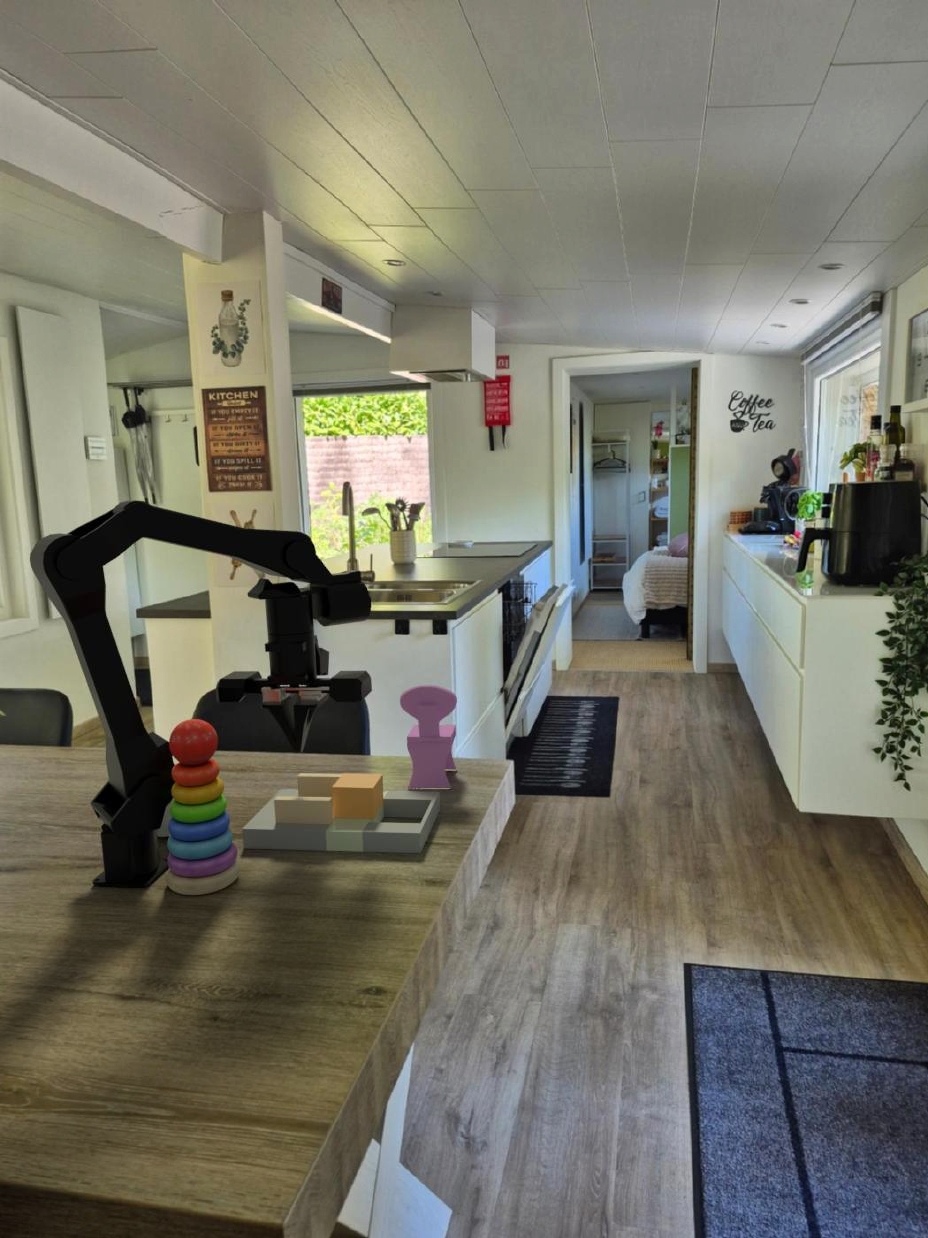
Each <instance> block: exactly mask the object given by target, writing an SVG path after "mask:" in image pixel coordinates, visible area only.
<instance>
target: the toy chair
mask: <svg viewBox="0 0 928 1238" xmlns="http://www.w3.org/2000/svg"><path fill="white" fill-rule="evenodd" d="M457 703H458V697H457V695H456V693H454V692H453V691H451V690H449V689H448V688H446V687H441V686H439V685H435V684H434V685H432V684H431V685H430V684H427V685H425V684H422V685H415V686H412V687H411V688H408V689H406V690H404V691H403V692H402V693H401V695H400V697H399V704H400V707H401V708H402V711H404V712H405V713H407V714H408V715H410V716H411V717H412V718H414V719H415V720H417V721H418V724H413V726H412V728H411V730H410V732H409V733H408V734H407V736H406V743H407V744H406V747H407V751H408V755H409V757H410V759H411V762H412V774H411V778H410V782H409V784H408V786H407V790H408V789H409V788H410V789H413V788H414V789H416V788H418V789H420V788H450V787H451V784H450V783H449V780H448V777H447V772H445V769H456V768H457V766H456V764H455V761H454V757H453V750H452V749H453V744H454V741H455V738H456V735H457V727H456V726H457V725H456V724H441V725H440V722H441V721H442V720H444V719H445V718H446V717H448V716H450V714H451V713H452V712H454V710H455V709H456V707H457Z"/></svg>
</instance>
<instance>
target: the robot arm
mask: <svg viewBox="0 0 928 1238" xmlns="http://www.w3.org/2000/svg"><path fill="white" fill-rule="evenodd" d="M142 539H147V540H152V541H157V542H161V543H165V544H168V545H174V546H179V547H183V548H188V549H192V550H197V551H200V552H201V551H202V552H206V553H211V554H215V555H218V556H219V555H220V556H225V557H228V558H231V559H233V560H236V561H237V562H239V563H240V564H243V565H245V566H247V567H249V568H252V569H255V570H256V571H259V572H260V573H261V572H262V573H264V574H267V575H268V576H273V577H280V578H286V579H288V580H291V581H286V582H284V581H283V582H277V583H273V582H272V581H271V580H270V579H268V578H262V577H260V578H259V579H258V581H257V582H256V584H255V585H254V586H253V587H252V588H251V589H250V590H249V591H248V592H247V594H246V595H247V597H248V598H249V599H250V598H251V599H255V600H261V601H263V600H264V602H265V603H264V604H265V617H266V631H267V642H265V643H264V650H265V652H267V653H268V658H269V673H270V674H269V675H267V677H266V678H263V676H262V674H261V672H259V670H256V671H255V670H248V671H245V670H242V671H241V670H240V671H239V670H238V671H237V670H234V671H232V672H230V673H229V674H227V675H225V676H223V677H222V678H220V679H218V681H217V683H216V686H215V696H216V697H215V699H216V702H219V703H239V702H241V701H242V700H243V699H244V697H246V695H247V694H262V702H261V703H260V707H261V709H263V710H264V709H266V710H268V712H269V713H270V714H271V715H272V717H273V718H274V720H275V721H276V723H277V724H278V725H279V727H280V728H281V731H282V733H283V734H284V736H285V737H286V739H287V741H288V744H289V746H290V747H291V749H292V751H293V752H294V753H295V754H301V753H302V752H303V751H304V748H305V745H306V741H307V738H308V734H309V731H310V726H311V723H312V720H313V717H314V716H315V715H314V714H315V712H316V710H317V709H318V708H319V707H320V706H321V705H323V704H324V703H325V702H326V701H327V700H328V699H329V697H330V698H331V699H333V701H334V702H336V703H357V702H358V703H359V702H363V701H364V699H366V698H367V697H368V696H369V695H370V693H371V692H372V691H373V688H372V687H373V686H372V682H373V681H372V676H371V674H370V673H368V671H367V670H340V671H338V672H337V673H336V674H334V675H333V676H332V677H331V678H330V677H324V676H329V665H330V651H328V650H326V649H324V648H323V647H320V645H319V639H318V634H317V635H316V634H315V627H314V626H315V625H314V624H315V623H314V620H315V621H317V622H318V624H319V625H321V626H322V627H324V628H326V627H331V626H339V625H345V624H352V623H359V622H361V623H362V622H365V621H366V620H367V619H369V617H370V614H371V612H372V611H371V610H372V597H371V595H370V593H369V590H368V587H367V585H366V584H365V582H363V580H362V572H361V571H360V570H353V569H350V570H349V569H348V570H344V571H342V572H336V573H332V572H331V571H330V570H329V569H328V568H327V566H326V565H325V564H324V562H322V560H321V558H320V557H319V556H318V555H317V551H316V547H315V544H314V541H312V537H311V536H309V535H308V534H306V533H304V532H302V531H295V530H280V529H279V530H277V529H264V528H263V529H260V528H246V527H241V526H236V525H232V524H228V523H224V522H220V521H216V520H212V519H208V518H204V517H200V516H196V515H192V514H189V513H183V512H180V511H176V510H170V509H167V508H163V507H159V506H154V505H152V504H150V503H148V502H147V501H144V500H124V501H121V502H119V503H118V504H117V505H115V506H114V507H113V508H112V509H109V510H108V511H106V512H105V513H103V514H101V515H98V516H97V517H95V518H93V519H91V520H90V521H87V522H85V523H83V524H81V525H80V526H78V527H75V528H74V529H72V530H71V531H69V532H68V533H60V532H59V533H58V532H57V533H52V534H48V535H45V536H43V537H42V538H40V539H39V540H38V541H37V542H36V543H35V544H34V546H33V548H32V549H31V552H30V554H29V563H30V567H31V568H30V569H31V570H32V572H33V575H34V576H35V577H36V579H37V581H38V583H39V584H40V586H41V587H42V589H43V590H44V591H43V592H45V594H46V596H47V597H48V599H49V601H50V602H51V603H52V605H53V607H55V609H56V610H57V613H59V615H60V616H61V618H62V619H63V621H64V623H65V626H66V628H67V631H68V634H69V636H70V639H71V642H72V645H73V648H74V650H75V654H76V657H77V659H78V661H79V662H78V663H79V665H80V668H81V670H82V673H83V676H84V679H85V681H86V684H87V687H88V689H89V693H90V695H91V699H92V701H93V704H94V706H95V710H96V713H97V715H98V717H99V718H98V719H99V720H100V721H99V722H100V724H101V727H102V729H103V732H104V736H105V762H106V763H105V764H106V770H107V776H108V780H107V782H105V784H104V785H103V787H102V788H101V789H100V790H99V791H98V792H97V794H96V795H95V796H94V797H93V799H91V801H90V806H91V808H92V810H93V812H94V814H95V816H96V817H97V818H98V819H100V820H101V822H103V824H102V825H101V832H100V842H101V843H100V844H101V853H102V862H103V871H102V872H101V873H100V874H98V875H97V876H96V877H95V878H93V879H92V885H93V886H104V887H131V888H133V887H135V888H138V887H139V888H145V887H147V886H148V885H150V884H151V883H152V882H153V881H155V879H157V878H158V876H160V875H161V874H162V873H163V872H164V871H165V870H166V869H167V868H169V866H168V862H167V860H168V857H165V858H161V857H159V856H160V854H159V853H160V852H159V841H158V836H157V829H160V827H161V824H162V821H163V817H164V813H165V810H166V806H167V805H168V804H169V803H170V802H171V801H172V799H173V796H172V787H173V785H174V784H175V783H176V782H175V781H174V780H173V778H172V769H173V767H174V766H175V764H174V762H173V757H172V753H171V751H170V747H169V740H167V739H165V738H163V736H161V735H159V734H157V733H156V732H154V731H151V732H149V733H148V731H147V729H146V727H145V724H144V722H143V719H142V715H141V713H140V709H139V707H138V703H137V701H136V698H135V694H134V691H133V689H132V686H131V683H130V679H129V677H128V674H127V671H126V669H125V665H124V662H123V660H122V656H121V653H120V649H119V648H118V645H117V642H116V638H115V636H114V633H113V630H112V627H111V625H110V622H109V618H108V616H107V611H106V610H107V609H106V607H107V606H106V604H107V603H106V601H107V599H106V598H107V597H106V596H107V591H106V589H107V584H106V578H105V577H106V576H105V569H104V566H106V565H107V564H109V563H110V562H112V561H114V560H115V559H117V558H118V557H120V556H121V555H122V554H123V553H125V551H127V550H129V549H130V547H132V546H133V545H134V544H136V543H137V542H138V541H140V540H142ZM294 581H295V582H298V583H299V582H300V583H306V584H309V586H308V587H300V588H299V586H298V585H297V584H296V583H295V582H294ZM318 676H321V677H318ZM322 676H323V678H322ZM298 697H299V700H298ZM297 700H298V701H297Z"/></svg>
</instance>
